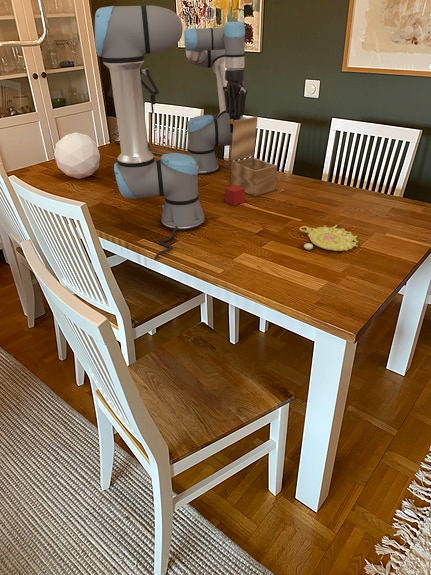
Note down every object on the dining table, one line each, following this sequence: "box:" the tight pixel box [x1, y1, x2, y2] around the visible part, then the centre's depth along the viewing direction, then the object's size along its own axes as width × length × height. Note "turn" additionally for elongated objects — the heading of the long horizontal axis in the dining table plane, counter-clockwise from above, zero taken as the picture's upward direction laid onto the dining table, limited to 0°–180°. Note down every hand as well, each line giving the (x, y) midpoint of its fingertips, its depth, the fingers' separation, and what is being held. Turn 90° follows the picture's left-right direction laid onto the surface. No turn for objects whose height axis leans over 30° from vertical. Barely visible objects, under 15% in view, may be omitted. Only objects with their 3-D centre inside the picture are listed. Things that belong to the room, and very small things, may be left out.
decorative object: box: [299, 224, 359, 252], centre depth 141 cm, size 21×2×20 cm
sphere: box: [53, 131, 101, 180], centre depth 196 cm, size 19×20×20 cm
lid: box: [228, 116, 258, 162], centre depth 180 cm, size 16×11×8 cm
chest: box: [230, 156, 278, 197], centre depth 181 cm, size 15×11×10 cm
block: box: [224, 185, 246, 206], centre depth 170 cm, size 5×5×5 cm
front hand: (136, 114), depth 180 cm, fingers open, 13 cm apart
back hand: (235, 132), depth 181 cm, fingers closed on lid, 1 cm apart
